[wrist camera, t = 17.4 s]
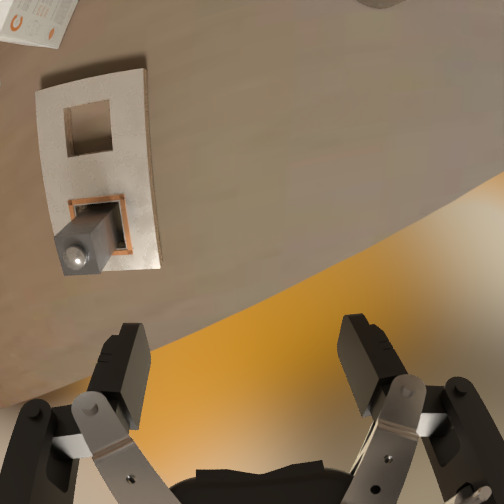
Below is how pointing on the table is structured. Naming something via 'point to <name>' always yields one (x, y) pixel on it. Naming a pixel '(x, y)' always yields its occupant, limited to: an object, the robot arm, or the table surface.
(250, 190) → the table surface
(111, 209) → the block with round knob
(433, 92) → the table surface
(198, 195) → the table surface
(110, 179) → the rail plate
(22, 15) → the small box
